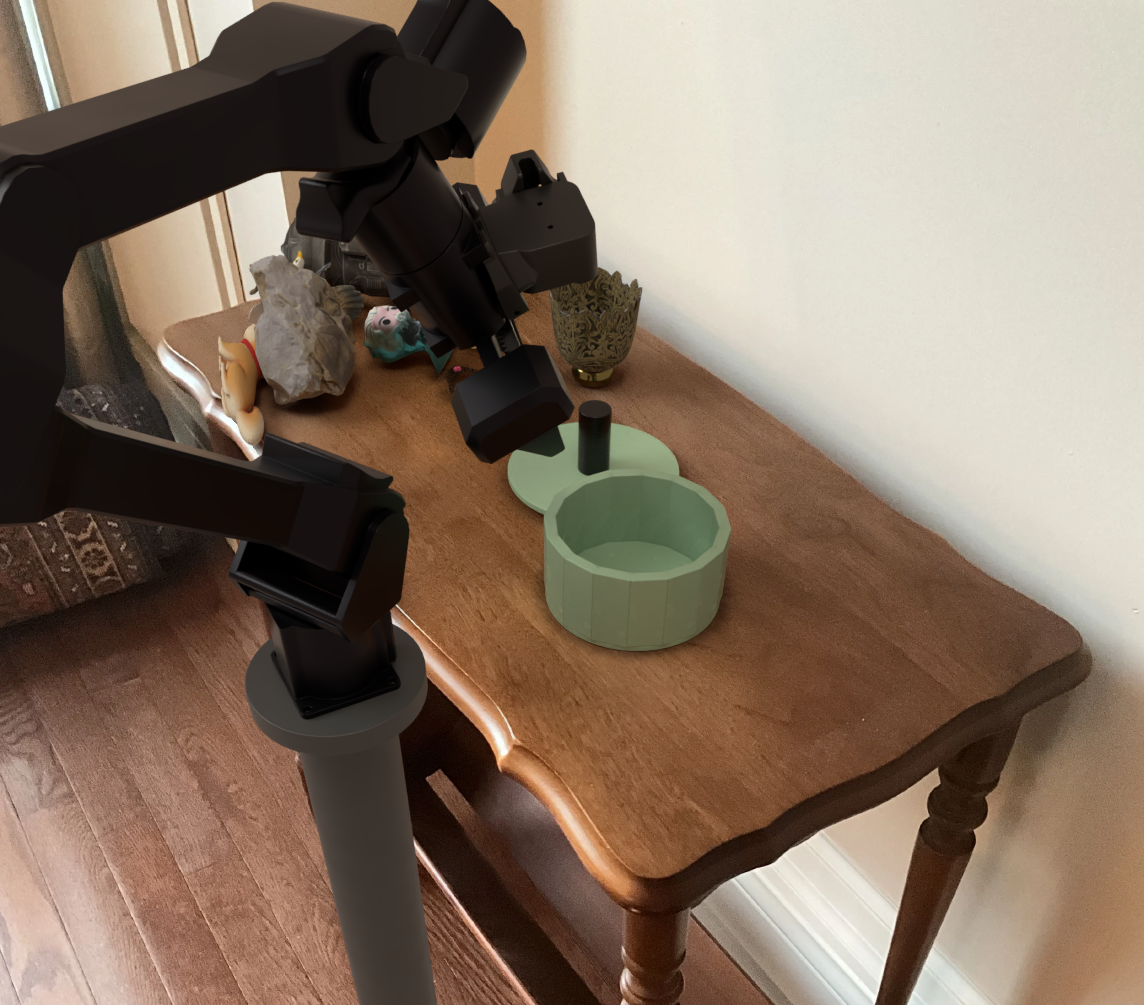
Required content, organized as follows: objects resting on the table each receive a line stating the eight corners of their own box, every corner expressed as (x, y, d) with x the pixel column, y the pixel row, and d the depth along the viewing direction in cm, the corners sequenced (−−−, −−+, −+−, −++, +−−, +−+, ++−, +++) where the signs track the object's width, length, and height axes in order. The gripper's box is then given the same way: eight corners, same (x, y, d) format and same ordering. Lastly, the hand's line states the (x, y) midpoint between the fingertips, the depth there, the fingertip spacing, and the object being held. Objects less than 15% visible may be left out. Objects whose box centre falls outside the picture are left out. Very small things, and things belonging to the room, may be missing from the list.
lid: (608, 554, 83) (611, 481, 78) (472, 486, 88) (468, 414, 84) (711, 474, 90) (720, 402, 85) (580, 415, 95) (581, 345, 91)
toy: (215, 339, 101) (275, 343, 102) (226, 460, 91) (292, 461, 92) (214, 304, 98) (275, 307, 100) (225, 423, 88) (293, 425, 90)
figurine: (382, 284, 89) (304, 304, 92) (426, 397, 94) (351, 412, 97) (446, 234, 97) (373, 254, 101) (484, 340, 102) (413, 356, 106)
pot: (597, 673, 74) (600, 601, 70) (515, 568, 82) (513, 497, 77) (754, 617, 78) (766, 546, 74) (662, 521, 85) (668, 451, 81)
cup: (531, 377, 99) (529, 285, 93) (594, 348, 102) (597, 258, 96) (590, 412, 95) (593, 319, 89) (654, 381, 99) (660, 289, 93)
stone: (381, 405, 99) (345, 372, 89) (301, 431, 100) (257, 401, 90) (344, 275, 98) (304, 228, 88) (264, 303, 99) (215, 259, 89)
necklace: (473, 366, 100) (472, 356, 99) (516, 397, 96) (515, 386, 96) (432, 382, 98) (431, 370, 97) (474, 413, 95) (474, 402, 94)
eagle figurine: (295, 245, 105) (373, 270, 102) (283, 327, 108) (359, 354, 105) (234, 234, 99) (316, 261, 95) (223, 321, 101) (302, 350, 98)
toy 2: (448, 315, 110) (285, 299, 108) (452, 251, 109) (288, 233, 107) (447, 289, 101) (271, 271, 100) (451, 219, 101) (274, 200, 99)
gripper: (602, 265, 56) (697, 442, 70) (497, 43, 64) (600, 240, 78) (409, 382, 59) (537, 531, 72) (331, 154, 67) (459, 327, 81)
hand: (536, 400), depth 76 cm, fingers open, 9 cm apart
